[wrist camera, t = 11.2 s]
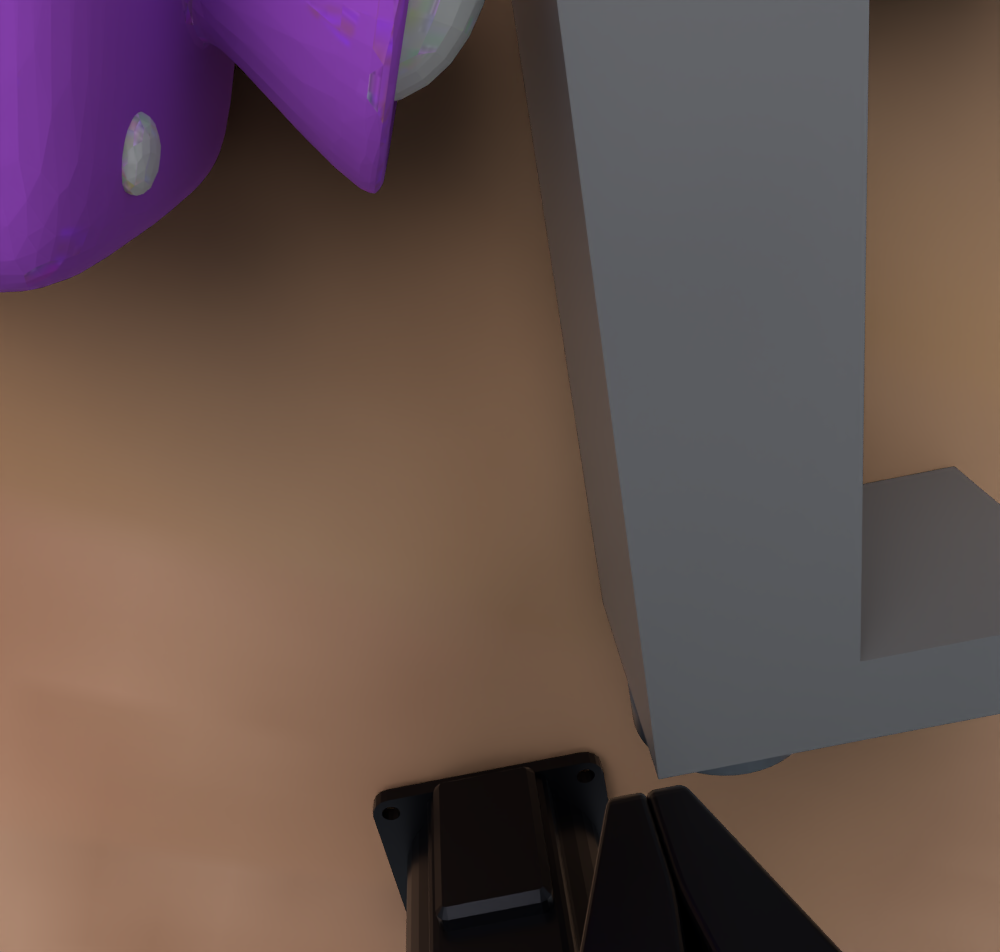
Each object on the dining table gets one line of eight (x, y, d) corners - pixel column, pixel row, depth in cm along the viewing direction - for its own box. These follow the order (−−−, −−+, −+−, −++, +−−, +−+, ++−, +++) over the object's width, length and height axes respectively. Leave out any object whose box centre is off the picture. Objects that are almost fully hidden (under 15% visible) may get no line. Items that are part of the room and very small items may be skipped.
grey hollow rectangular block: (947, 573, 23) (1103, 737, 18) (608, 638, 23) (663, 821, 18) (1002, -244, 15) (1308, -382, 10) (490, -140, 16) (527, -222, 10)
